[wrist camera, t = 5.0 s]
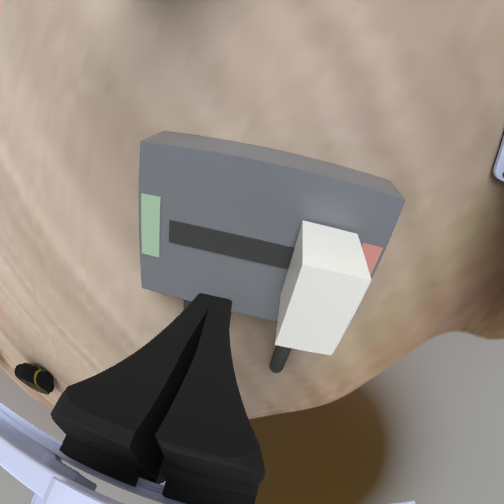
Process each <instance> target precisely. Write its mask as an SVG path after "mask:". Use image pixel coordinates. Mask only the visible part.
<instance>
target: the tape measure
mask: <svg viewBox="0 0 504 504" xmlns="http://www.w3.org/2000/svg"><path fill="white" fill-rule="evenodd" d="M14 372H15V375H16V377H17V378H18V379H20V380H21V381H22V382H23V383H25V384H26V385H28V386H29V387H31V388H33V389H35V390H36V391H38V392H40V393H44V394H49V393H50V392H52V391H53V389H54V383H53V378H52V377H51V376H50V375H49V374H47V373H46V371H45V370H44V369H42V368H41V367H39V366H33V365H31V364H28V363H23V364H19V365H17V366H16V368H15V371H14Z"/></svg>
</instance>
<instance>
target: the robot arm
mask: <svg viewBox="0 0 504 504" xmlns="http://www.w3.org/2000/svg"><path fill="white" fill-rule="evenodd" d="M503 172H504V136H503V139H502V143H501V146H500V149H499V153H498V156H497V159H496V162H495V165H494V168H493V174H494V176H495V177H496V178H498V179H500V180H501V181H503V182H504V176H503ZM231 309H232V301H231V300H230V299H226V298H222V297H217V296H212V295H208V294H203V293H199V294H198V295H197V296H196V297H195V298H194V299H193V301H192V302H191V303H190V304H189V305H188V306H187V307H186V308H185V309H184V310H183V312H182V313H181V314H180V315H179V316H178V317H177V318H176V319H175V320H174V321H173V322H171V323H170V324H169V325H168V326H167V327H166V328H165V329H164V330H163V331H162V332H161V333H159V334H158V335H157V336H156V337H155V338H154V339H152V340H151V341H150V342H149V343H147V344H146V345H145V346H143V347H142V348H141V349H139V350H138V351H136V352H135V353H134V354H132V355H131V356H129V357H127V358H126V359H124V360H123V361H121V362H119V363H118V364H116V365H114V366H113V367H111V368H109V369H107V370H105V371H103V372H101V373H99V374H97V375H95V376H93V377H91V378H88V379H86V380H83V381H81V382H78V383H76V384H73V385H70V386H68V387H67V388H66V390H65V391H64V392H63V393H62V395H61V396H60V398H59V400H58V401H57V403H56V405H55V407H54V408H53V410H52V412H51V416H52V419H53V420H54V421H55V423H56V424H57V425H58V426H59V427H60V428H61V429H62V430H63V431H64V433H65V434H66V437H65V439H64V441H63V443H62V442H61V441H59V440H57V439H55V438H53V437H51V436H50V435H48V434H47V433H45V432H43V431H42V430H40V429H38V428H37V427H35V426H34V425H32V424H31V423H29V422H28V421H26V420H24V419H23V418H22V417H20V416H19V415H17V414H16V413H14V412H13V411H11V410H10V409H9V408H7V407H6V406H5V405H3V404H2V403H1V402H0V465H1V466H2V467H3V468H4V469H5V470H7V471H8V472H9V473H10V474H11V475H13V476H14V477H15V478H16V479H18V480H19V481H20V482H21V483H23V484H24V485H25V486H27V487H28V488H30V489H31V490H32V491H33V492H35V494H34V497H33V499H32V501H31V504H123V503H120V502H118V501H115V500H113V499H111V498H109V497H106V496H104V495H102V494H100V493H98V492H95V489H96V487H97V486H96V484H95V483H93V482H91V481H90V480H88V479H86V478H85V477H83V476H82V475H81V474H80V473H78V472H77V471H75V470H73V469H72V468H70V467H68V466H67V465H65V464H63V463H62V461H61V459H62V460H63V461H65V462H67V463H69V464H71V465H73V466H74V467H76V468H78V469H80V470H82V471H84V472H86V473H88V474H91V475H92V476H95V477H97V478H99V479H101V480H103V481H106V482H108V483H110V484H112V485H115V486H117V487H119V488H122V489H124V490H127V491H129V492H132V493H135V494H137V495H140V496H143V497H146V498H149V499H152V500H155V501H158V502H161V503H164V504H254V503H255V497H256V496H257V492H258V486H259V484H260V483H261V482H262V481H263V480H264V476H265V475H264V474H265V469H264V463H263V458H262V454H261V450H260V445H259V443H258V440H257V438H256V436H255V434H254V432H253V429H252V427H251V425H250V422H249V419H248V417H247V414H246V412H245V408H244V405H243V402H242V399H241V396H240V393H239V389H238V386H237V382H236V377H235V373H234V368H233V363H232V356H231V349H230V337H229V326H230V317H231ZM164 481H166V483H165V486H163V485H160V483H163V482H164ZM391 504H416V502H415V501H414V500H412V501H406V502H399V503H391Z"/></svg>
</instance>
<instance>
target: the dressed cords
mask: <svg viewBox="0 0 504 504" xmlns="http://www.w3.org/2000/svg"><path fill="white" fill-rule="evenodd" d="M191 302H192V301H188V300H184V309H185V308H186V307H187V306H188V305H189V304H190V303H191ZM291 349H292V348H288V347H283V346H278V345H277V348H276V350H275V353H274V356H273V358H272V361H271V363H270V369H271V371H272V372H274V373H278V372H280V371H281V370H282V369H283V367H284V365H285V362H286V360H287V358H288V355H289V353H290V351H291Z"/></svg>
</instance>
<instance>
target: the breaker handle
mask: <svg viewBox="0 0 504 504" xmlns="http://www.w3.org/2000/svg"><path fill="white" fill-rule="evenodd" d="M370 282H371V277H370V273H369V270H368V266H367V263H366V259H365V256H364V253H363V250H362V246H361V243H360V240H359V237H358V234H356V233H352V232H348V231H344V230H340V229H336V228H332V227H328V226H324V225H320V224H316V223H312V222H308V221H304V220H303V221H302V224H301V228H300V231H299V235H298V238H297V242H296V245H295V248H294V252H293V255H292V259H291V262H290V265H289V269H288V272H287V275H286V279H285V282H284V285H283V288H282V292H281V296H280V305H279V314H278V322H277V330H276V338H275V345H278V346H283V347H288V348H293V349H298V350H304V351H309V352H315V353H320V354H326V355H332V354H333V352H334V350H335V348H336V347H337V345H338V343H339V341H340V340H341V338H342V336H343V334H344V332H345V331H346V329H347V327H348V325H349V323H350V321H351V319H352V318H353V316H354V314H355V312H356V310H357V308H358V306H359V304H360V302H361V300H362V298H363V296H364V294H365V292H366V290H367V288H368V286H369V284H370Z"/></svg>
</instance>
